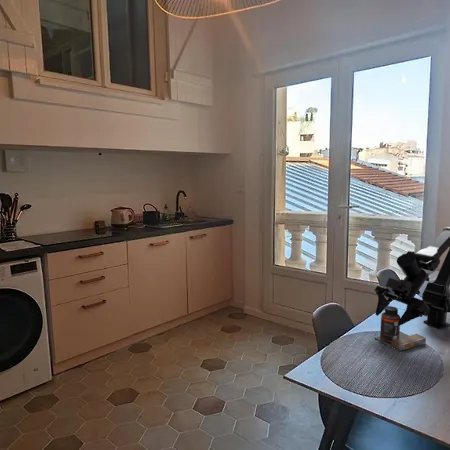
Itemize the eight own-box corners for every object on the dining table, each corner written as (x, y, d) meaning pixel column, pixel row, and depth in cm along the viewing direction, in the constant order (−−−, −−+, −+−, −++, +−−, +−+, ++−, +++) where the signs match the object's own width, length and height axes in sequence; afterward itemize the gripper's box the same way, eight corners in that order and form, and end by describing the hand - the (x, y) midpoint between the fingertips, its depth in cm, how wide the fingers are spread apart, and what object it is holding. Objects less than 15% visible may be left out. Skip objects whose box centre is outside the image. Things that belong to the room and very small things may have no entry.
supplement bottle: (400, 344, 125) (403, 312, 123) (381, 343, 126) (383, 310, 124) (396, 336, 131) (398, 305, 129) (378, 335, 132) (380, 304, 130)
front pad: (399, 331, 135) (399, 330, 135) (416, 339, 129) (416, 338, 129) (374, 338, 130) (374, 337, 130) (390, 347, 124) (390, 346, 124)
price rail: (416, 339, 129) (416, 333, 129) (426, 344, 125) (426, 338, 125) (390, 347, 124) (391, 340, 124) (400, 352, 120) (401, 345, 120)
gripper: (379, 263, 135) (354, 297, 132) (426, 276, 118) (399, 316, 115) (393, 281, 139) (370, 315, 136) (441, 296, 122) (415, 335, 119)
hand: (387, 319), depth 127 cm, fingers open, 9 cm apart
